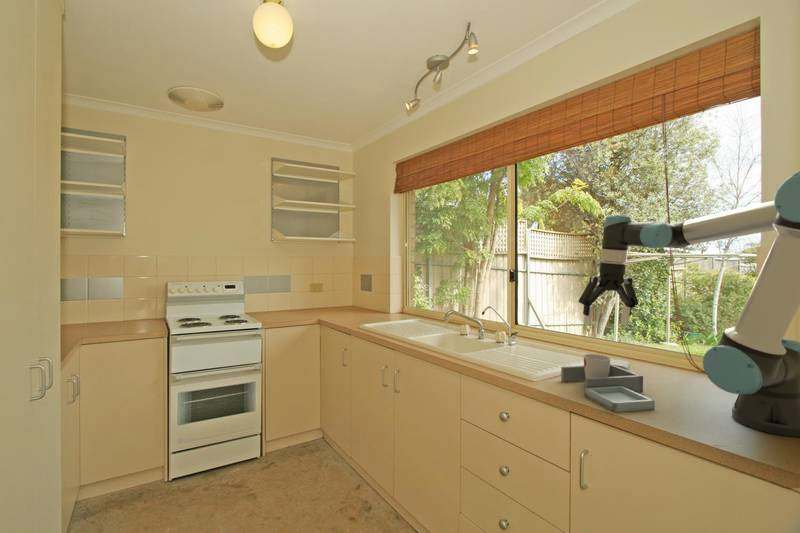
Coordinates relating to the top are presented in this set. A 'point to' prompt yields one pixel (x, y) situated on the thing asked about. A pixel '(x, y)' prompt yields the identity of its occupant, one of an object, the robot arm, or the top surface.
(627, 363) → the charger
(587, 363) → the cup
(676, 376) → the top surface
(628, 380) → the holder
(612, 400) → the tray
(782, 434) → the robot arm
